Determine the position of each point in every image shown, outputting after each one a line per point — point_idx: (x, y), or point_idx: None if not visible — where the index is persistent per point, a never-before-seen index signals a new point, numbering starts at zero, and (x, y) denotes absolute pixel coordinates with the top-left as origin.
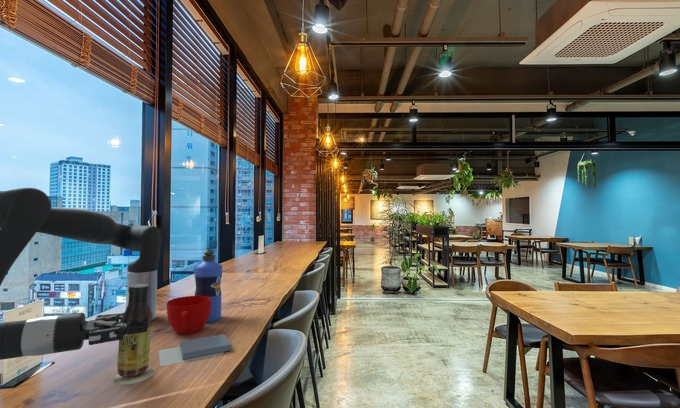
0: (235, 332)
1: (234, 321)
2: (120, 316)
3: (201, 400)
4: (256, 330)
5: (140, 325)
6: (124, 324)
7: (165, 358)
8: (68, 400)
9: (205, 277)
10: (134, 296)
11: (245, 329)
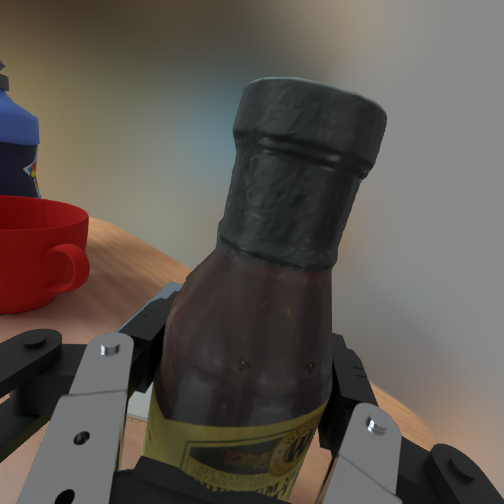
0: (144, 272)
1: (88, 250)
2: (100, 379)
3: (429, 430)
4: (170, 261)
5: (361, 364)
6: (386, 422)
7: (146, 399)
8: None
9: (6, 141)
10: (352, 197)
11: (148, 262)
